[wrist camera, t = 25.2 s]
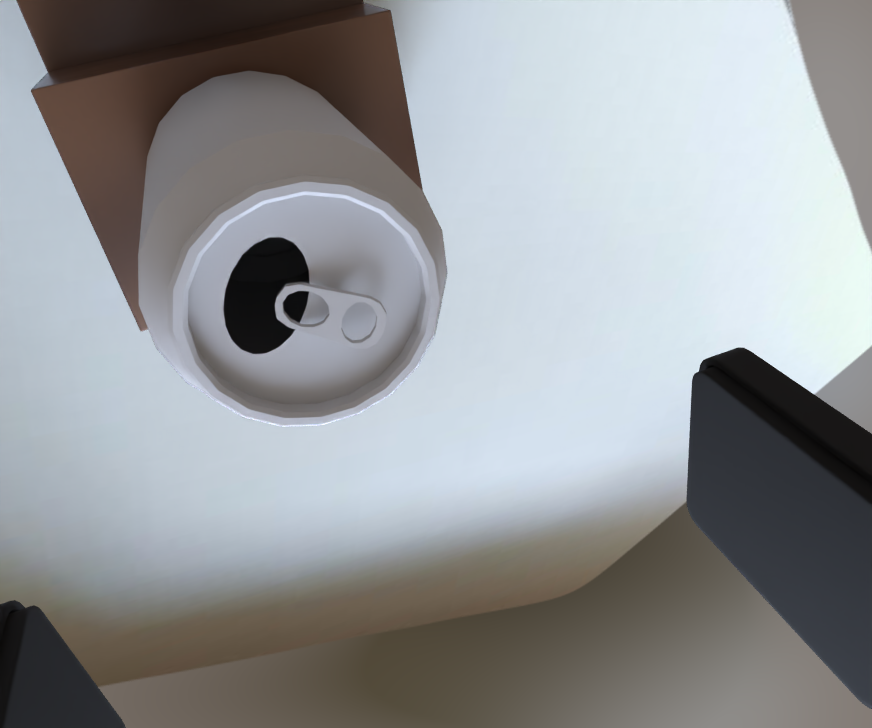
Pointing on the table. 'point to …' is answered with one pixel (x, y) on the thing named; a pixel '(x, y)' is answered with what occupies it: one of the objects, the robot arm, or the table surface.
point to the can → (284, 254)
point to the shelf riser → (188, 68)
